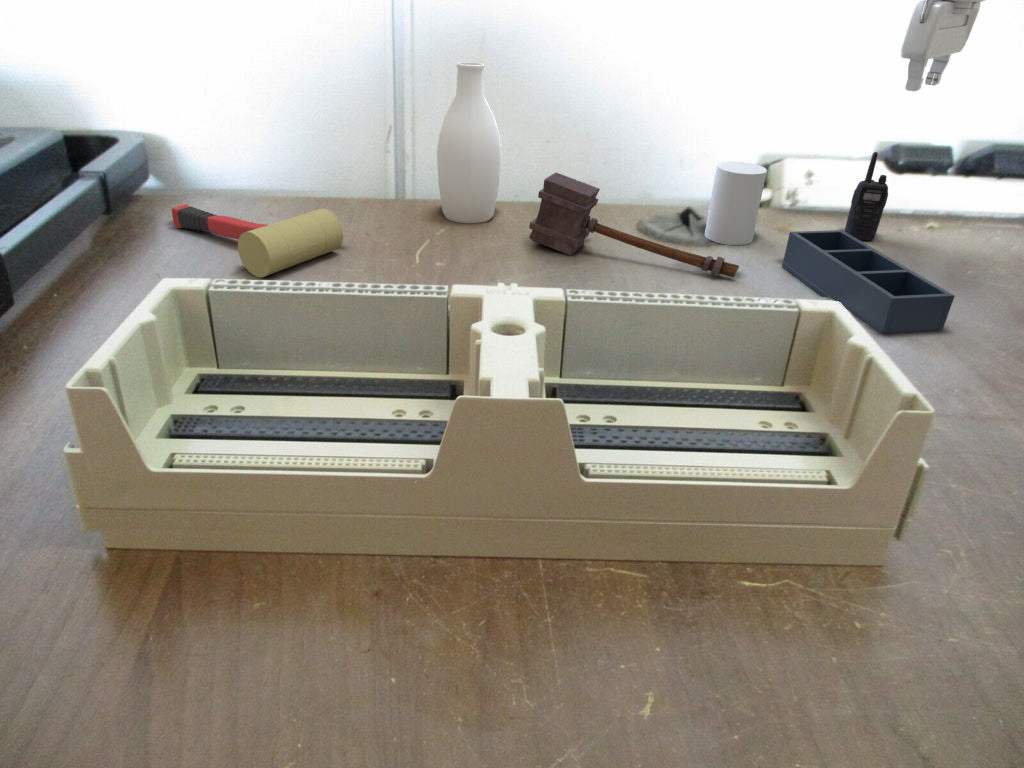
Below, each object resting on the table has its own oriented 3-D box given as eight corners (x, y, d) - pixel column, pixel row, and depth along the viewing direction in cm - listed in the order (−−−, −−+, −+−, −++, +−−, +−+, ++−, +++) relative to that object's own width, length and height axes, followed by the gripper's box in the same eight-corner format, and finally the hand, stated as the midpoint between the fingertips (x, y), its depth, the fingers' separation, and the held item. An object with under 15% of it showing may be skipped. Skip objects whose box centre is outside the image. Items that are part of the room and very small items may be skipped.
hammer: (540, 226, 129) (555, 169, 123) (725, 299, 121) (750, 242, 116) (524, 238, 123) (539, 179, 118) (717, 315, 116) (742, 256, 110)
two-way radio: (843, 239, 134) (866, 152, 127) (840, 231, 138) (862, 146, 131) (876, 243, 133) (902, 155, 126) (872, 235, 137) (897, 150, 130)
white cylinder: (762, 242, 131) (777, 172, 125) (722, 247, 128) (736, 175, 122) (733, 227, 137) (746, 160, 131) (695, 231, 135) (707, 162, 129)
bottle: (464, 230, 130) (465, 70, 117) (424, 213, 137) (422, 61, 124) (512, 218, 137) (518, 66, 124) (472, 203, 144) (474, 57, 131)
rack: (833, 264, 123) (842, 230, 120) (940, 335, 101) (955, 295, 99) (781, 266, 121) (789, 231, 118) (879, 339, 100) (892, 298, 97)
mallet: (144, 246, 122) (273, 281, 107) (134, 205, 119) (266, 236, 104) (218, 224, 132) (345, 253, 118) (211, 186, 129) (340, 211, 115)
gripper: (955, -12, 102) (922, 97, 109) (993, -13, 115) (962, 84, 122) (906, -15, 105) (877, 90, 112) (949, -16, 119) (920, 79, 126)
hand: (921, 87), depth 118 cm, fingers open, 8 cm apart
